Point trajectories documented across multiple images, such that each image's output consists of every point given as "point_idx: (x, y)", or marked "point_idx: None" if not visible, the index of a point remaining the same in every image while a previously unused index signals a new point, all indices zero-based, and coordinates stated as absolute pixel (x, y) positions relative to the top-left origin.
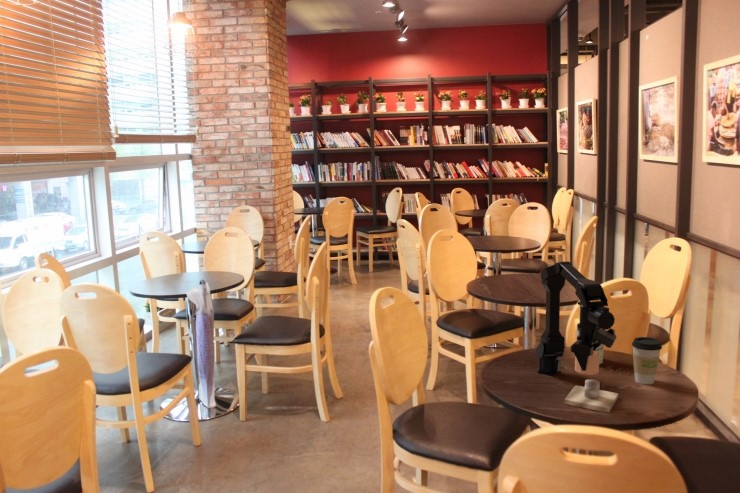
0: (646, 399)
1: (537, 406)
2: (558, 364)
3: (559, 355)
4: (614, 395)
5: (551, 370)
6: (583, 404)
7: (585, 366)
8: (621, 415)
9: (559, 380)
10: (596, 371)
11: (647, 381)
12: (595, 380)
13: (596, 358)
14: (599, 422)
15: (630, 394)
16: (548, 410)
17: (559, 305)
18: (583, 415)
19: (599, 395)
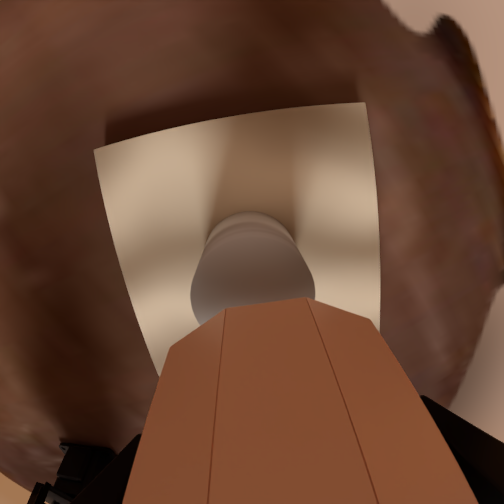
0: (47, 43)
1: (436, 378)
2: (74, 469)
3: (56, 493)
4: (138, 150)
5: (104, 466)
6: (377, 247)
7: (465, 423)
8: (339, 44)
9: (130, 429)
10: (326, 315)
11: None
12: (200, 293)
13: (412, 486)
14: (470, 121)
15: (31, 126)
16: (456, 336)
17: None
18: (447, 206)
19: (201, 224)
